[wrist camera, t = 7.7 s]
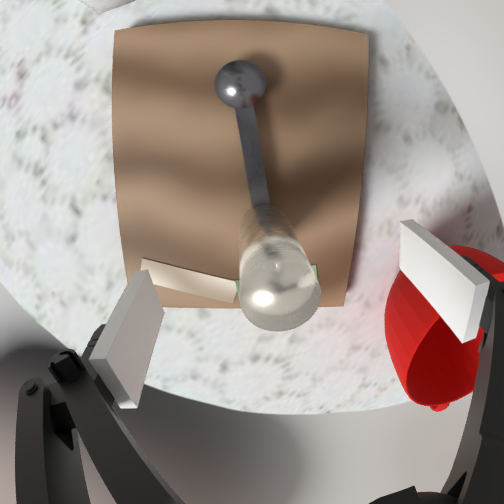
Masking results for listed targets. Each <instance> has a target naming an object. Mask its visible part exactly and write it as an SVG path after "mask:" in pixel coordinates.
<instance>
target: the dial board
mask: <svg viewBox="0 0 504 504" xmlns="http://www.w3.org/2000/svg"><path fill="white" fill-rule="evenodd" d="M237 60H244V61H249V62H251V63H253V64H255V65H256V66H258V67H259V68H260V69H261V71H262V72H263V74H264V76H265V80H266V88H265V92H264V94H263V96H262V97H261V99H260V100H259V101H258V102H257V103H255V104H254V105H253V106H254V111H255V117H256V123H257V129H258V135H259V140H260V146H261V152H262V158H263V165H264V171H265V177H266V183H267V189H268V196H269V202H270V205H272V206H275V207H278V208H279V209H281V210H282V211H283V212H284V213H285V214H286V215H287V217H288V219H289V221H290V223H291V225H292V227H293V229H294V231H295V233H296V235H297V237H298V239H299V241H300V243H301V246H302V248H303V250H304V252H305V254H306V256H307V258H308V260H309V262H310V265H311V267H312V269H313V271H314V273H315V275H316V278H317V280H318V282H319V285H320V288H321V299H320V303H319V306H318V307H335V306H344V301H345V296H346V290H347V285H348V279H349V273H350V267H351V261H352V255H353V248H354V241H355V234H356V227H357V220H358V212H359V204H360V195H361V186H362V176H363V165H364V154H365V140H366V125H367V105H368V71H369V40H368V34H365V33H360V32H355V31H350V30H344V29H338V28H332V27H325V26H318V25H310V24H301V23H291V22H278V21H260V20H204V21H186V22H174V23H164V24H155V25H147V26H140V27H133V28H127V29H121V30H115V34H114V49H113V70H112V136H113V159H114V175H115V188H116V199H117V209H118V219H119V227H120V235H121V243H122V250H123V257H124V264H125V270H126V277H127V283H129V281H130V279H131V277H132V276H133V274H134V272H136V271H141V270H147V269H148V271H149V274H150V276H151V279H152V282H153V285H154V287H155V290H156V293H157V295H158V298H159V300H160V303H161V306H162V307H177V308H241V304H240V270H239V224H240V221H241V219H242V217H243V216H244V214H245V213H246V212H247V211H248V210H250V209H251V208H252V203H251V197H250V191H249V186H248V180H247V174H246V169H245V163H244V157H243V152H242V146H241V140H240V135H239V129H238V124H237V118H236V113H235V108H232V107H229V106H227V105H226V104H224V103H223V102H222V101H221V100H220V99H219V97H218V96H217V94H216V92H215V87H214V82H215V77H216V75H217V73H218V71H219V70H220V69H221V68H222V67H223V66H224V65H226V64H227V63H229V62H232V61H237Z"/></svg>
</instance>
